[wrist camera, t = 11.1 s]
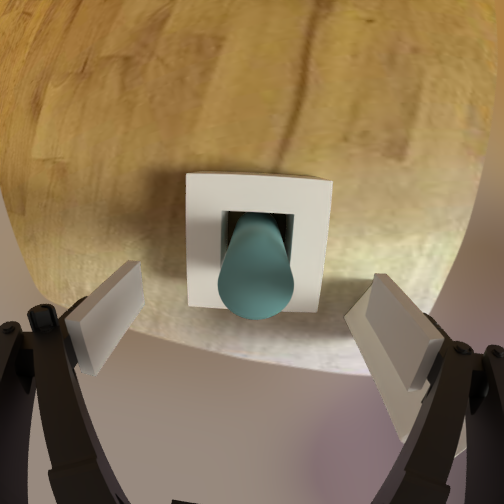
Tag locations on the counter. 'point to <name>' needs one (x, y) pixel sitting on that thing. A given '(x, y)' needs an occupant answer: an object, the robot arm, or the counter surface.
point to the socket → (256, 200)
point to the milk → (388, 375)
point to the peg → (256, 269)
